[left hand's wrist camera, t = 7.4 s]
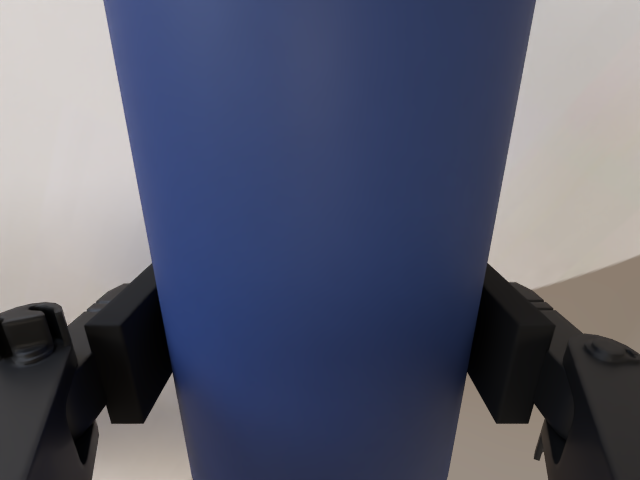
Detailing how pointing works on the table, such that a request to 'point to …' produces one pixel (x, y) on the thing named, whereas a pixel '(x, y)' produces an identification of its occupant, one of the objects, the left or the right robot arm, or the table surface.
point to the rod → (319, 219)
